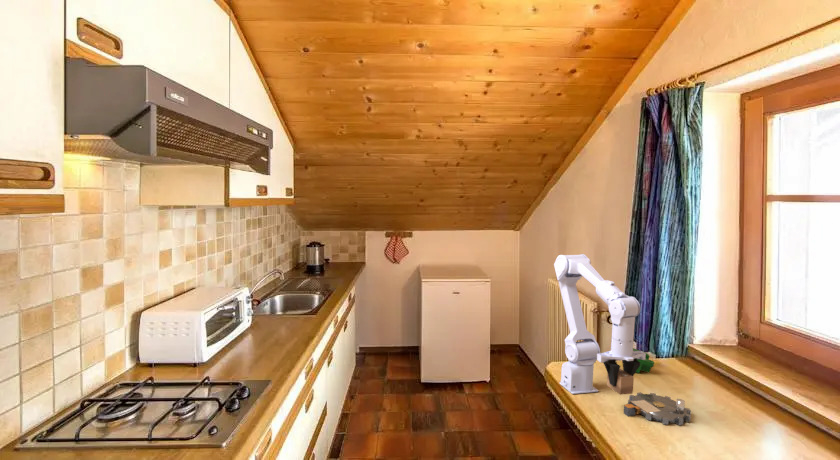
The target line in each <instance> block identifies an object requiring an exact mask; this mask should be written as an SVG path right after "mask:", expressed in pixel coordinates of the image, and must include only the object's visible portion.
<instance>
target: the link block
mask: <svg viewBox="0 0 840 460" xmlns="http://www.w3.org/2000/svg"><path fill="white" fill-rule="evenodd" d="M634 378H635V377H634V376H632V375H630V374H628V373H627V372H625V371H624V370H623V368H620V369H619V372H618V376H617V384H616V386H613V385H611V384H610V382H609V377H608V375H607V378H606V379H607V381H606V386H607V387H609V388H610V389H611V390H613V391H614V392H616V393H617V394H618V395H620V396H623V395H633V393H634V380H635V379H634Z"/></svg>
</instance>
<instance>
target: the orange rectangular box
mask: <svg viewBox="0 0 840 460" xmlns="http://www.w3.org/2000/svg"><path fill="white" fill-rule="evenodd" d="M635 408H636V407H635V406H634V405H632V404H628V403H626V404H623V414H624V415H625V416H627V417H633V416H634V417H635V416H636V413H635Z"/></svg>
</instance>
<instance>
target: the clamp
mask: <svg viewBox="0 0 840 460" xmlns="http://www.w3.org/2000/svg"><path fill="white" fill-rule="evenodd" d="M633 351H642V350H640V349H636V348H634V347H633ZM642 352H644V353H646V357H645V360H642V359H637V361H639V362H640V367H639V368H638V369H637V370H636V372H635V374H640V372H641V371H643V372H645V373H648V372H649V373H650V372H651V368H654V366H655V362H654V360H652V359H650V355H649V354H648V353H647V352H645V351H642Z"/></svg>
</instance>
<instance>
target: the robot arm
mask: <svg viewBox="0 0 840 460" xmlns="http://www.w3.org/2000/svg"><path fill="white" fill-rule="evenodd" d="M591 263H592V262H591V259H590V258H588V256H587V255H586V254H584V253H581V254H566V255H565V254H560V255H558V256H557V257H556V259H555V261H554V263H553V267H554V270H555V274H556V279H557V281H558V286H559V290H560V295H561V298H562V303H563V308H564V311H565V316H566V320H567V325H568V328H569V334H568V335H567V336H566V337H565V339H564V344H565V346H564V353H565V355H566V358H567V360H568V361H566V362H563V363H562V365H561V368H560V370H561V376H560V381H559V384H560V385H561V387H563V388H564V389H566V390H567V391H568V392H569V393H570V394H572V395H576V394H577V395H579V394H588V393H589V394H590V393H599V390H598V389H597V388H596V387H594V385H593V383H594V364H595V363H597V362H596V361H598V362H599V363H603V366H604V367H605V370H606V373H607V376H608V377H609V382H610V384H611V385H613V386H616V384H617V376H618V372H619V369H621V365H620V364H618V362H617V361H621V362H622V370H624V371H625V372H627V373H628V374H630V375H632V376H633V377H634V376H635V374H636V370H637V369H638V368H639V367H640V362H639V361H637V359H642V360H645V357H646V353H647V352H645V351H643V352H642V350H640V351H633V348H634V336H635V322H636V317H638V315H640V313H641V305H640V302H639V300H637V299H636V297H635V296H631V295H630V296H629V295H627V294H626V293H625V292H624V291H622V290H621V289H620V288H619V287H618V286H617V285H616V282H614V281H613V280H609V279H606V280H605V278H603V276H601V274H600V273H599V272H598V271H597V270H596V269H595V268H594V267H593V265H592V264H591ZM582 277H583V278H584V279H585V280H586V281H587V282H589V283H590V284H591V285H592V286H594V288H595V293H596V295H597V296H598V297H599V298H600V299H601V300H602V301H603V302H604V303H605V304H606V306H607V307H608V312H609V314H610V321H611V323H612V325H611V326H612V327H611V344H610V350H608V351H605V352H601V348H600V346H599V343H598V342H597V340H596V336H595V335H594V334H593V333H591V332H590V331H589V330H588V329H587V325H586V321H585V317H584V312H583V308H582V304H581V301H580V297H579V292H578V288H577V283H578V281H579V280H581V279H582ZM644 352H645V353H644Z"/></svg>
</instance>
